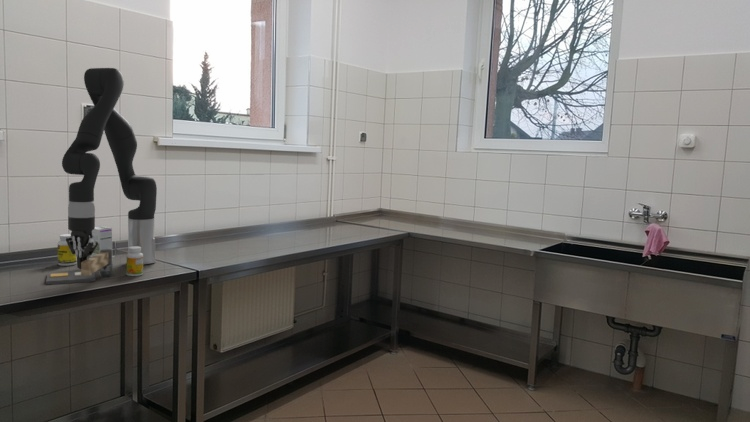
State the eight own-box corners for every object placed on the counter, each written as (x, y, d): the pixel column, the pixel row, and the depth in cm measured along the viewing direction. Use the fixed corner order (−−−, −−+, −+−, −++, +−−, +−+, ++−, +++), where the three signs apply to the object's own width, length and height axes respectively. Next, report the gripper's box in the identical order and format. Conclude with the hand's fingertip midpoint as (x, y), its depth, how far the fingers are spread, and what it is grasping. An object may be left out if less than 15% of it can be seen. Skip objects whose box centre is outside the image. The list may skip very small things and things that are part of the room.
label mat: (94, 272, 192) (94, 268, 192) (95, 281, 180) (95, 276, 180) (48, 274, 185) (48, 270, 185) (46, 284, 173) (46, 280, 173)
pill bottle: (53, 264, 200) (53, 235, 199) (68, 262, 206) (68, 233, 205) (66, 266, 198) (65, 236, 197) (80, 263, 204) (80, 234, 202)
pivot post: (112, 274, 190) (112, 262, 190) (113, 276, 187) (112, 265, 186) (99, 274, 188) (99, 263, 188) (100, 277, 185) (99, 265, 184)
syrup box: (113, 265, 203) (113, 227, 202) (99, 268, 198) (99, 228, 196) (102, 263, 206) (102, 225, 204) (88, 266, 200) (88, 227, 199)
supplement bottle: (123, 274, 190) (123, 247, 189) (137, 272, 195) (137, 245, 194) (132, 277, 187) (131, 249, 186) (146, 274, 192) (146, 247, 191)
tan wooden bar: (102, 262, 189) (102, 249, 188) (113, 262, 189) (113, 249, 189) (77, 276, 168) (77, 261, 167) (90, 276, 168) (90, 261, 168)
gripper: (106, 216, 174) (106, 269, 176) (78, 212, 180) (79, 263, 182) (84, 218, 168) (84, 273, 170) (57, 214, 173) (57, 267, 175)
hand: (81, 268), depth 176 cm, fingers closed
